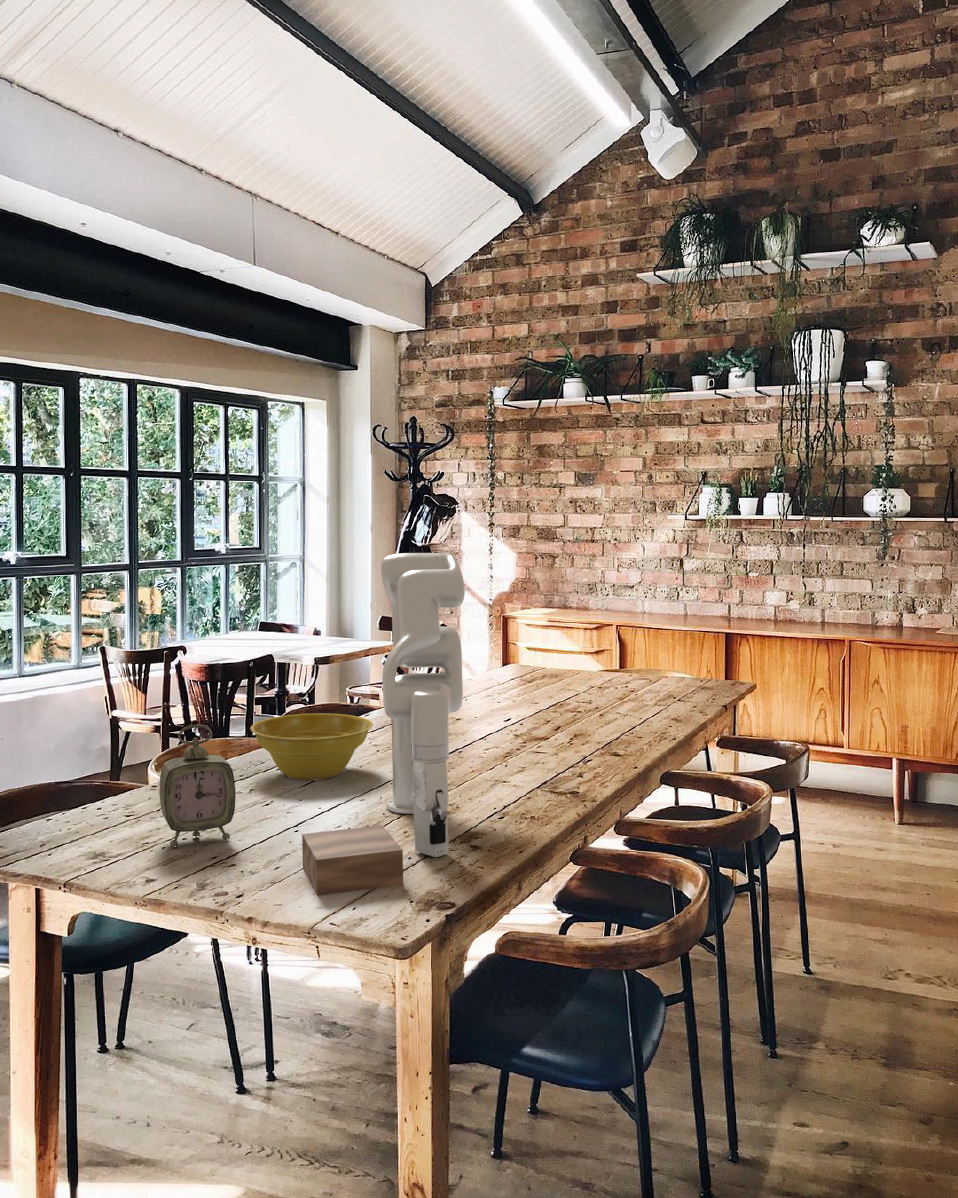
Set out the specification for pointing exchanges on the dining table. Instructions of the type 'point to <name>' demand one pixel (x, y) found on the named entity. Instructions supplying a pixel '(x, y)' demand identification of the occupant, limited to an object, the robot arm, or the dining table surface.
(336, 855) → the walnut block
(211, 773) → the tabletop clock
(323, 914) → the dining table surface
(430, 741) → the robot arm
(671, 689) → the dining table surface
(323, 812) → the dining table surface
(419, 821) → the skincare box
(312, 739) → the planter bowl
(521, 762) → the dining table surface
